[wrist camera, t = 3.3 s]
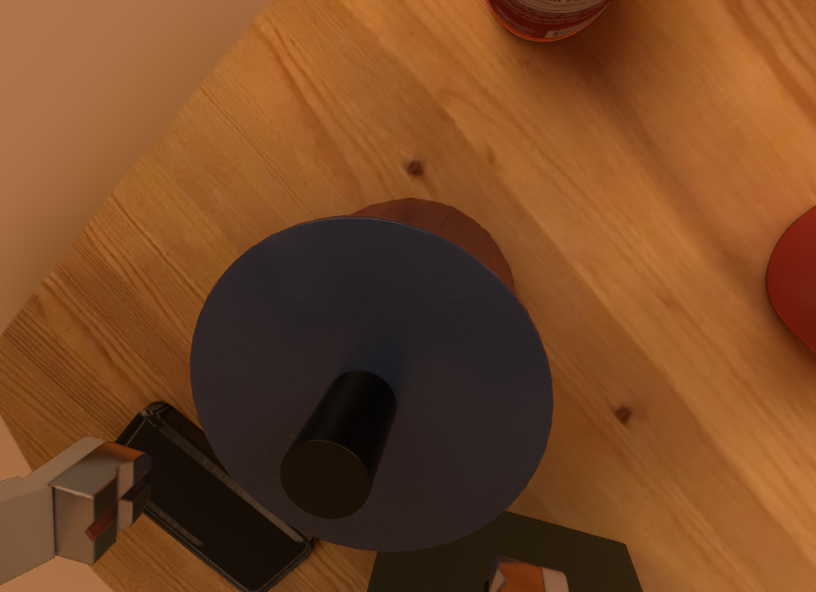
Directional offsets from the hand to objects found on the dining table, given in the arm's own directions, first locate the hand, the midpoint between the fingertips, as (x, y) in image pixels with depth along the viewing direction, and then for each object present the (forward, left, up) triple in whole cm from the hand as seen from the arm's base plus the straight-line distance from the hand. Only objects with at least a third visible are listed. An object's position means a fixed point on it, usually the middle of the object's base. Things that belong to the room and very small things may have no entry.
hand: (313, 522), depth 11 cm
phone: (-11, -18, -17) cm, 27 cm away
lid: (0, 0, -6) cm, 6 cm away
